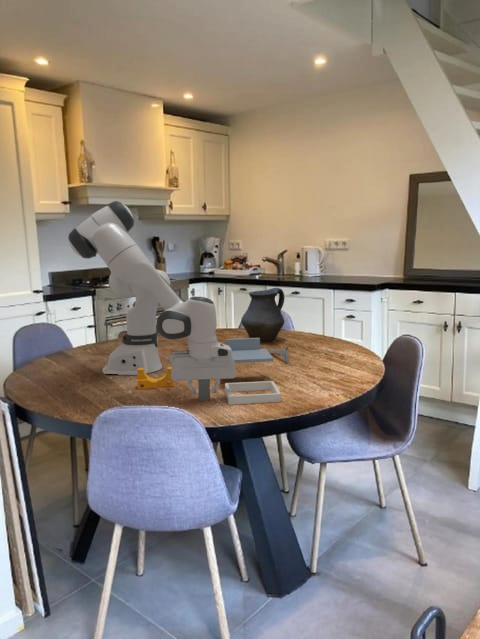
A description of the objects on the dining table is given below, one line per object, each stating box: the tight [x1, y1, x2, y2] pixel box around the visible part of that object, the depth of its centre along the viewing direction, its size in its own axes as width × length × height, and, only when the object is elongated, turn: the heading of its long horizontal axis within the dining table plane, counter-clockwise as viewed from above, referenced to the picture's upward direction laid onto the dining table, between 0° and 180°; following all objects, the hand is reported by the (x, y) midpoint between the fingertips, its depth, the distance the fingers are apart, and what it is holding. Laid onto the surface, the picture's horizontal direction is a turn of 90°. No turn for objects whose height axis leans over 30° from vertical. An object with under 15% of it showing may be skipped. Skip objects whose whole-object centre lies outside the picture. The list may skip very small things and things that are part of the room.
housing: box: [224, 380, 282, 406], centre depth 162 cm, size 16×14×3 cm
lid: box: [225, 337, 274, 364], centre depth 177 cm, size 17×15×5 cm
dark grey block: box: [197, 379, 211, 402], centre depth 160 cm, size 4×4×7 cm
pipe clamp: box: [136, 366, 175, 390], centre depth 175 cm, size 12×4×6 cm, turn 95°
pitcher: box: [240, 287, 285, 343], centre depth 245 cm, size 21×22×25 cm
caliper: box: [268, 346, 290, 364], centre depth 211 cm, size 20×1×6 cm, turn 17°
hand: (204, 392), depth 161 cm, fingers open, 5 cm apart
